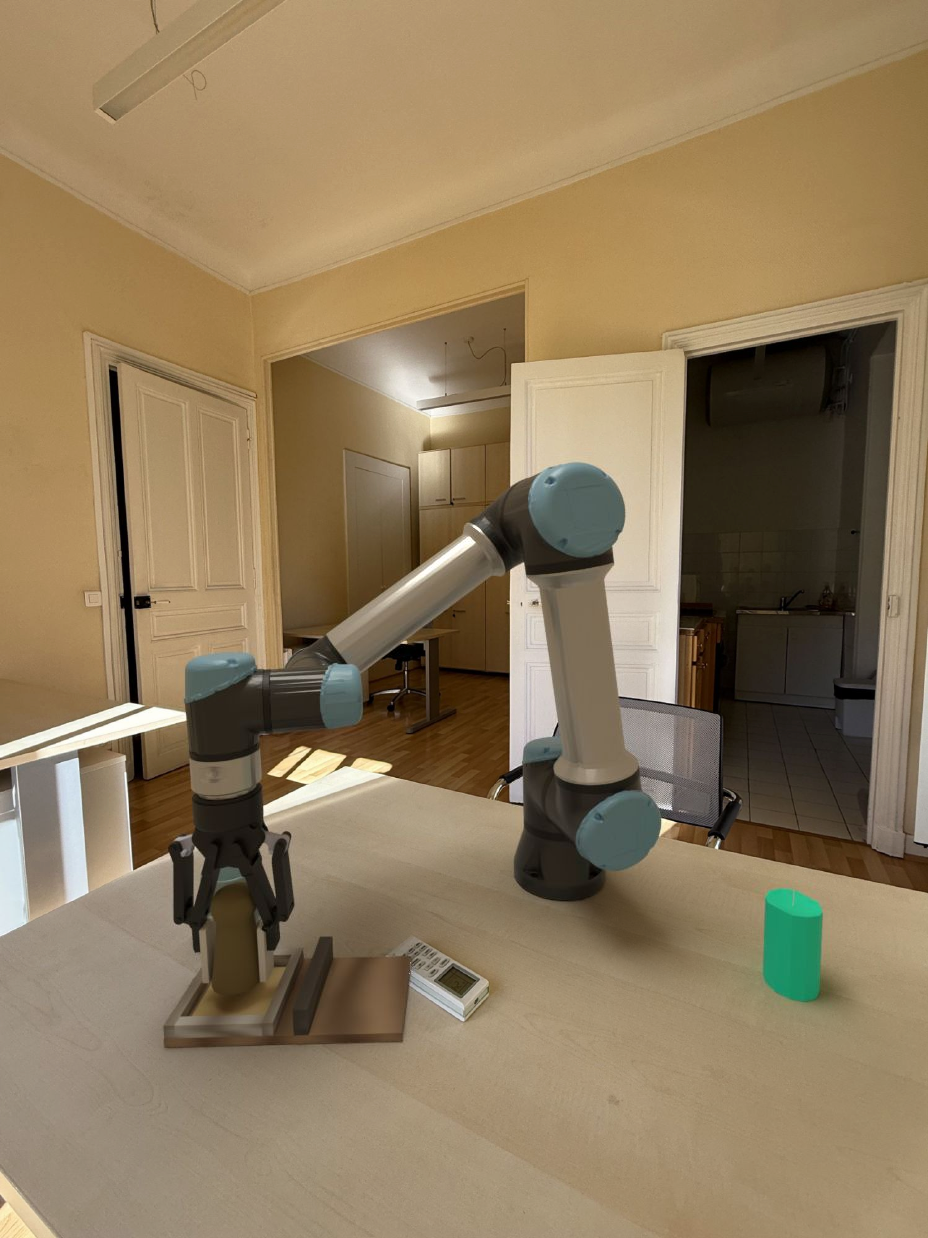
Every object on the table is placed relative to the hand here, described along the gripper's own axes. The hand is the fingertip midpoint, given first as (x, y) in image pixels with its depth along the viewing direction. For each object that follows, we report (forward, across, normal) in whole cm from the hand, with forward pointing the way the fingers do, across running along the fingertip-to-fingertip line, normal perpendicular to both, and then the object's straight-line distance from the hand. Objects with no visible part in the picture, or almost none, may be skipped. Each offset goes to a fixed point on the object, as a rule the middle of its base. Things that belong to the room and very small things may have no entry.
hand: (239, 973), depth 66 cm
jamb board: (+4, +7, 0) cm, 8 cm away
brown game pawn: (0, 0, 0) cm, 0 cm away
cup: (+4, -6, +13) cm, 15 cm away
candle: (+4, +67, +1) cm, 67 cm away
